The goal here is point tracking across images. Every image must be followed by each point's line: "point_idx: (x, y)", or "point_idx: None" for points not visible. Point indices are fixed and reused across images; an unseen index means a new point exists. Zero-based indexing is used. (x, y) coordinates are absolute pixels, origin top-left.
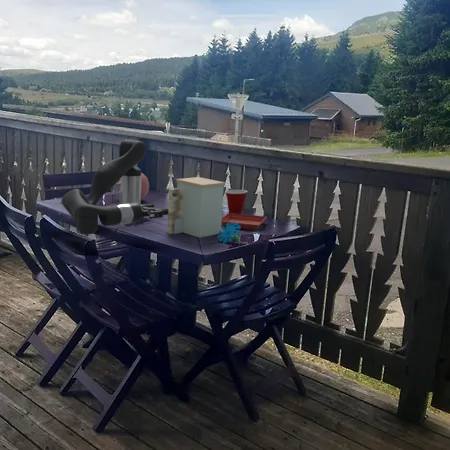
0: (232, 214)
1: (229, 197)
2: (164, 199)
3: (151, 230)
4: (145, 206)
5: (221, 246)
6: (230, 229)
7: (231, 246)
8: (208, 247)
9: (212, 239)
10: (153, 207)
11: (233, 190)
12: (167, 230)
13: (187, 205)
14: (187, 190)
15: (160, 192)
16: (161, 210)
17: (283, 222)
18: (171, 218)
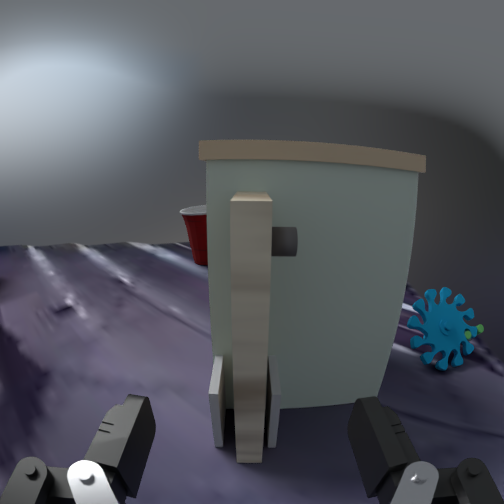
0: None
1: (202, 224)
2: (30, 264)
3: (140, 482)
4: (111, 486)
5: (486, 383)
6: (445, 317)
7: (483, 365)
8: (499, 415)
9: (407, 377)
10: (150, 419)
11: (188, 209)
12: (237, 455)
13: (306, 288)
14: (304, 198)
15: (16, 251)
16: (476, 468)
17: None
18: (264, 403)
